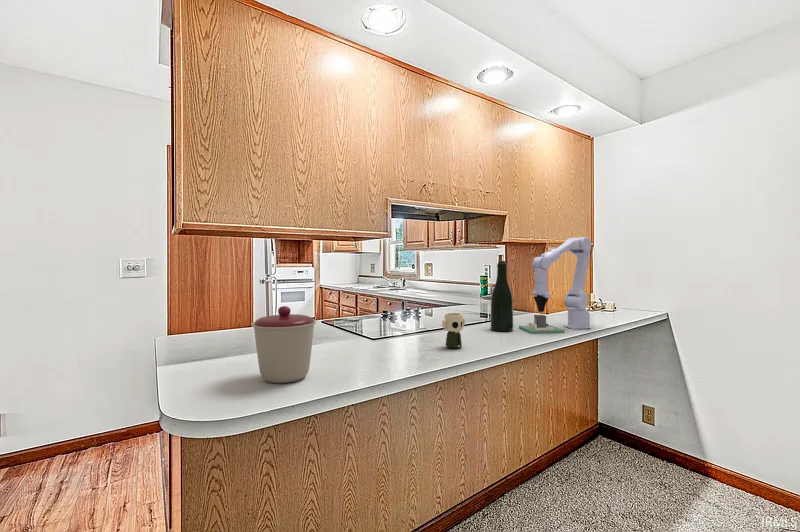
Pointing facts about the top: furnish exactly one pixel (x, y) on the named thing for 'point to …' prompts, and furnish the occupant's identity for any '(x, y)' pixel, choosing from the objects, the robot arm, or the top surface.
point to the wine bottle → (501, 302)
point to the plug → (540, 321)
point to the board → (541, 329)
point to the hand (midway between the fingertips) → (540, 311)
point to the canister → (284, 345)
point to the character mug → (453, 329)
